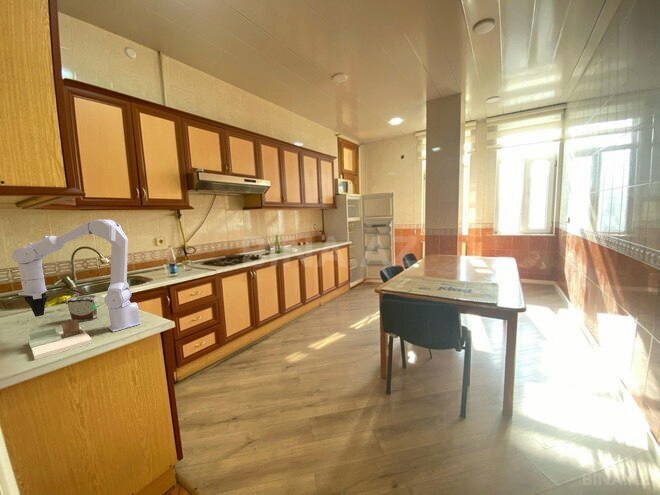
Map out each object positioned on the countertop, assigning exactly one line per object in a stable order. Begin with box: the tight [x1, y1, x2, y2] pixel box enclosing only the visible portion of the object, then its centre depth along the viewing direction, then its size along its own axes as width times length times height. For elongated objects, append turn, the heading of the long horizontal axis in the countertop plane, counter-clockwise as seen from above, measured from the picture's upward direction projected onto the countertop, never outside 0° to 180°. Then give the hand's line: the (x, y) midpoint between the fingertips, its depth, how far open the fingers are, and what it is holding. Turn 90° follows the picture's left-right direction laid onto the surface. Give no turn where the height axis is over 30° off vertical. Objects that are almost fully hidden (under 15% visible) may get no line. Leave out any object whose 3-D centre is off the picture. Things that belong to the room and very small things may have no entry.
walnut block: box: [61, 319, 81, 339], centre depth 101 cm, size 4×4×6 cm
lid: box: [28, 327, 61, 349], centre depth 95 cm, size 8×8×3 cm
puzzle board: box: [30, 326, 93, 361], centre depth 97 cm, size 14×20×1 cm
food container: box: [65, 294, 99, 322], centre depth 122 cm, size 12×6×10 cm, turn 92°
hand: (38, 314), depth 100 cm, fingers open, 4 cm apart
